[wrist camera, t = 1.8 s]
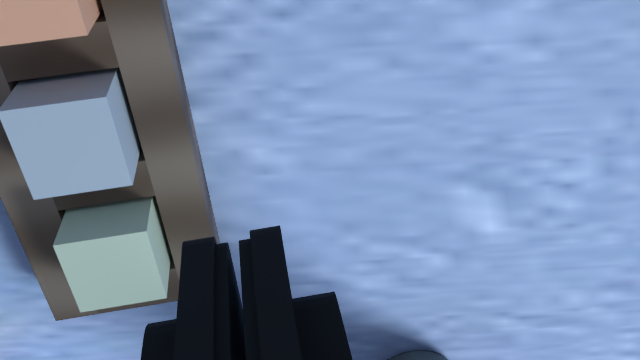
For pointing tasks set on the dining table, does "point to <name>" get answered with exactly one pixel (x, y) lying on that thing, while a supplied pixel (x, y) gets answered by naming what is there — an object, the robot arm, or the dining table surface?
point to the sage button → (114, 253)
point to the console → (153, 130)
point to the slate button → (72, 132)
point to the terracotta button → (46, 19)
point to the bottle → (419, 356)
